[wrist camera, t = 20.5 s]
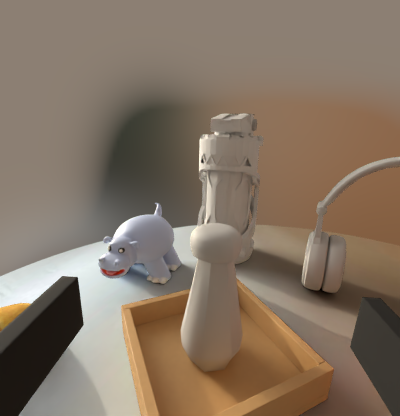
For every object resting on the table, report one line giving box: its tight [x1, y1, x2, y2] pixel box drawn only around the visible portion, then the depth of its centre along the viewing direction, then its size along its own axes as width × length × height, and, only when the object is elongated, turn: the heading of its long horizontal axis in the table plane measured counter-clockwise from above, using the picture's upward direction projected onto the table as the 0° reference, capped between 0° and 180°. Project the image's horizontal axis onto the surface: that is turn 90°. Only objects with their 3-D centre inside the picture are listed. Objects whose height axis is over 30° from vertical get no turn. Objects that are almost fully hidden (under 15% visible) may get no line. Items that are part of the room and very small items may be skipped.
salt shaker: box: [181, 223, 243, 372], centre depth 23 cm, size 6×6×13 cm
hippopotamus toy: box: [99, 203, 181, 284], centre depth 39 cm, size 11×15×10 cm
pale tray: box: [121, 278, 334, 416], centre depth 24 cm, size 15×15×3 cm
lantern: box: [198, 114, 263, 264], centre depth 45 cm, size 13×10×25 cm
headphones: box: [302, 157, 400, 293], centre depth 31 cm, size 20×8×19 cm, turn 63°
